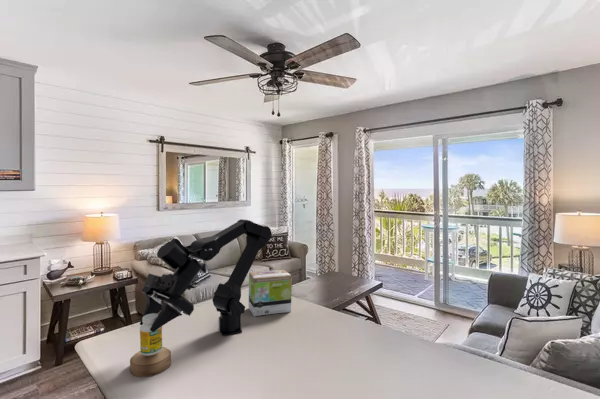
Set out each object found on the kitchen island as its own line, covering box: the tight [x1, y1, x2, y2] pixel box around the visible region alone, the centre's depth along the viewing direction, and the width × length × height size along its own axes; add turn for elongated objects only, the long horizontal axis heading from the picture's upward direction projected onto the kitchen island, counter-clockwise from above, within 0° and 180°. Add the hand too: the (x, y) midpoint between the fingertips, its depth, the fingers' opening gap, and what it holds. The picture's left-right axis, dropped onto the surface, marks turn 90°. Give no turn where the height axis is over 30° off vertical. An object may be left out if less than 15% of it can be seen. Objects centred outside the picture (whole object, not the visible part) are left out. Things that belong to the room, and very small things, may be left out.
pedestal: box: [129, 346, 172, 378], centre depth 86 cm, size 10×10×3 cm
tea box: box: [248, 269, 293, 317], centre depth 125 cm, size 15×10×15 cm
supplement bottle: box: [139, 313, 163, 356], centre depth 85 cm, size 5×5×10 cm
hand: (146, 328), depth 84 cm, fingers closed on supplement bottle, 5 cm apart
